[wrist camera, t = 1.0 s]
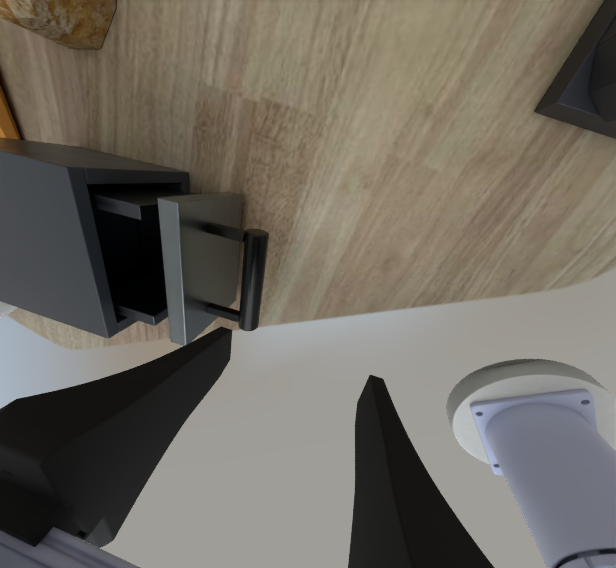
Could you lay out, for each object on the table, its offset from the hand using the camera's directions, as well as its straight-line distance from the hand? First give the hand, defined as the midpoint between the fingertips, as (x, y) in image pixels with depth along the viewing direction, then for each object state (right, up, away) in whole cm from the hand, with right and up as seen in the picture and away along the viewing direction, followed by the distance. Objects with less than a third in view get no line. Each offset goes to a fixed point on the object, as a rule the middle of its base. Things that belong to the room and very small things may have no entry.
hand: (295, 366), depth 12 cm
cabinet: (-15, +10, +10) cm, 21 cm away
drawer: (-8, +8, +8) cm, 14 cm away
